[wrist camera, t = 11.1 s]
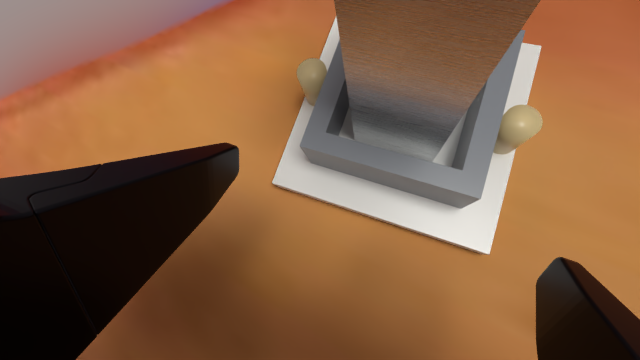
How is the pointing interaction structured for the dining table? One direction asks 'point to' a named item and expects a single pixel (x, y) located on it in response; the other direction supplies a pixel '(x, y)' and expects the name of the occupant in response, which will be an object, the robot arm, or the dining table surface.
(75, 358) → the robot arm
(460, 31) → the grey metal square bar
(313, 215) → the dining table surface
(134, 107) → the dining table surface
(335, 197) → the housing plate
